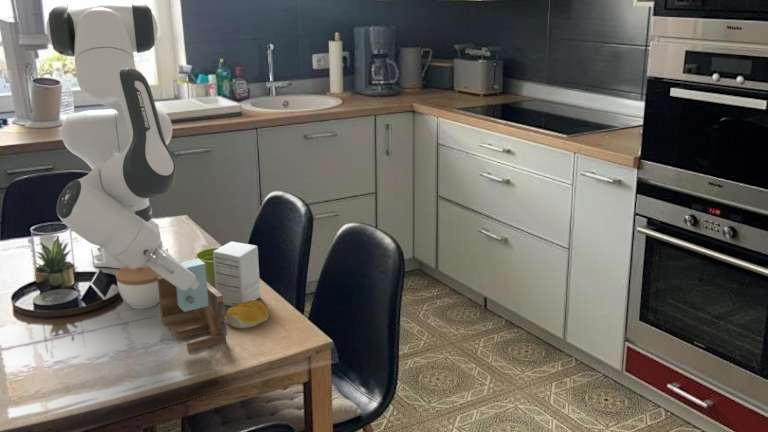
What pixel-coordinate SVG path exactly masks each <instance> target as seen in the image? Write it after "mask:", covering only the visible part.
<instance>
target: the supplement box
mask: <svg viewBox="0 0 768 432" xmlns="http://www.w3.org/2000/svg"><path fill="white" fill-rule="evenodd" d="M219 247H220V246H219ZM258 248H259V247H258V245H255V244H250V243H249V244H248V243H243V242H236V241H229V242H228V243H226V244H224V245H222V246H221V247H220V248H219V249H217V250H215V251H213V261H214V276H215V289H216V290H217V291H218V292H219V293H221V294H222V295H223V302H224V303H225V306H228V307H234V306H237V305H239V304H240V303H243V302H246V301H251V300H255V301H257V299H259V298H261V286H260V284H261V283H260V267H259V249H258Z"/></svg>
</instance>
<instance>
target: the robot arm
mask: <svg viewBox="0 0 768 432" xmlns="http://www.w3.org/2000/svg"><path fill="white" fill-rule="evenodd" d="M45 27H46V29H45V31H46V36H47V39H48V41H49V44H51V46H52V48H53V50H54V51H55V52H56V53H58V54H59V55H60V56H65V57H74V65H75V75H76V80H77V83H78V87H79V89H80V90H81V92H82V93H83V94H84V95H85V96H86V97H88V98H89V99H90V100H91V101H94V102H97V103H98V104H101V105H103V106H106V107H107V108H108V107H109V108H110V109H109V108H108V109H90V110H83V111H80V112H76V113H71V114H68V116H66V118H65V119H64V120H63V122H62V124H61V125H62V126H61V129H60V130H61V131H60V134H61V140H62V142H63V145H64V146H65V147H66V149H67V150H68V151H69V152H70V153H72V154H73V155H75V156H77V157H78V158H80V159H82V160H83V161H84V162H85V163H86V164H87V165H88V166H89V167H90V168H91V170H90V171H89V172H88V174H87V175H85V176H83V177H81V178H78V179H74V180H72V181H70V182H69V183H68V184H66V186H65V187H64V188H63V190H62V192H61V193H60V194H59V195H58V199H57V203H56V213H57V216H58V217H59V219H60V221H61V222H62V223H63V224H64V225H65V226H66V227H67V228H68V229H70V230H71V231H72V232H74V233H75V234H76V235H78V236H79V237H81V238H82V239H84V240H85V241H86V242H88V243H89V244H91V254H92V258H93V265H94V267H96V268H97V267H98V268H105V267H106V268H114V269H121V268H123V267H126V266H127V267H128V268H130V269H136V268H138V267H141V268H145V267H148V266H149V267H150V268H151V269H152V270H154V271H155V272H156V273H157V274H158V275H160V276H161V277H162V278H164V279H165V280H167V281H168V282H170V283H171V284H173V285H174V286H176V287H177V288H179V289H180V290H182V291H187V290H188V289H189V288H192V289H194V290H195V289H196V288H197V287H198V286H199V284H200V283H199V282H198V281H197V280H196V276H195V275H194V274H193V273H192V272H191V271H189V270H188V269H187V268H186V267H185V266H184V265H182V264H181V263H180V262H181V261H179V260H178V259H177V258H176V257H174V256H173V255H172V254H171V253H170V252H169V250H168V247H167V246H166V245H165V246H164V245H163V241H162V237H161V232H160V226H159V223H158V222H156V221H155V220H153V211H152V210H153V209H152V204H151V203H150V201H149V199H151V198H153V197H157V196H160V195H162V194H165V193H167V192H168V191H169V190H170V189H171V188H172V187H173V185H174V183H175V179H176V163H175V161H174V157H173V155H172V154H171V151H170V149H169V147H168V144H170V141H171V139H172V136H173V125H172V124H173V123H172V121H171V119H170V117H169V116H168V114H167V113H166V112H165V111H164V110H163V109H162V108H161V109H160V108H159V107H157V106H156V102H155V99H154V96H153V93H152V89H151V87H150V84H149V82H148V79H147V78H146V77H145V76H144V75H143V73H142V72H140V71H139V70H137V69H136V65H135V64H136V63H135V56H134V53H136V54H140V53H141V54H142V53H144V52H148V51H151V50H152V49H153V48H154V46H155V43H156V40H157V38H158V33H159V31H158V30H159V29H158V27H159V26H158V22H157V19H156V17H155V15H154V13H153V11H152V9H151V8H150V7H149V6H148V5H147V4H144V3H140V2H135V1H133V2H132V1H131V3H129V2H116V1H100V2H90V3H82V4H81V3H80V4H74V5H68V4H63V5H59V6H55V7H53V8H52V9H51V10H50V11H49V13H48V17H47V20H46V25H45Z"/></svg>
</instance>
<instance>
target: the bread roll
mask: <svg viewBox="0 0 768 432" xmlns="http://www.w3.org/2000/svg"><path fill="white" fill-rule="evenodd" d="M269 314H270V313H269V310H268V307H267V306H266V305H265V304H264V303H262V302H261V301H259V300H251V301H246V302H243V303H240V304H239V305H237V306H234V307H232V306H230V308H228V310H226V311H225V315H224V319H225V323H226V325H229V326H231V327H233V328H236V329H248V328H253V327H256V326H257V325H259V324H262V323H264V322H266V321H267V320H268V319H269Z"/></svg>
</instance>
